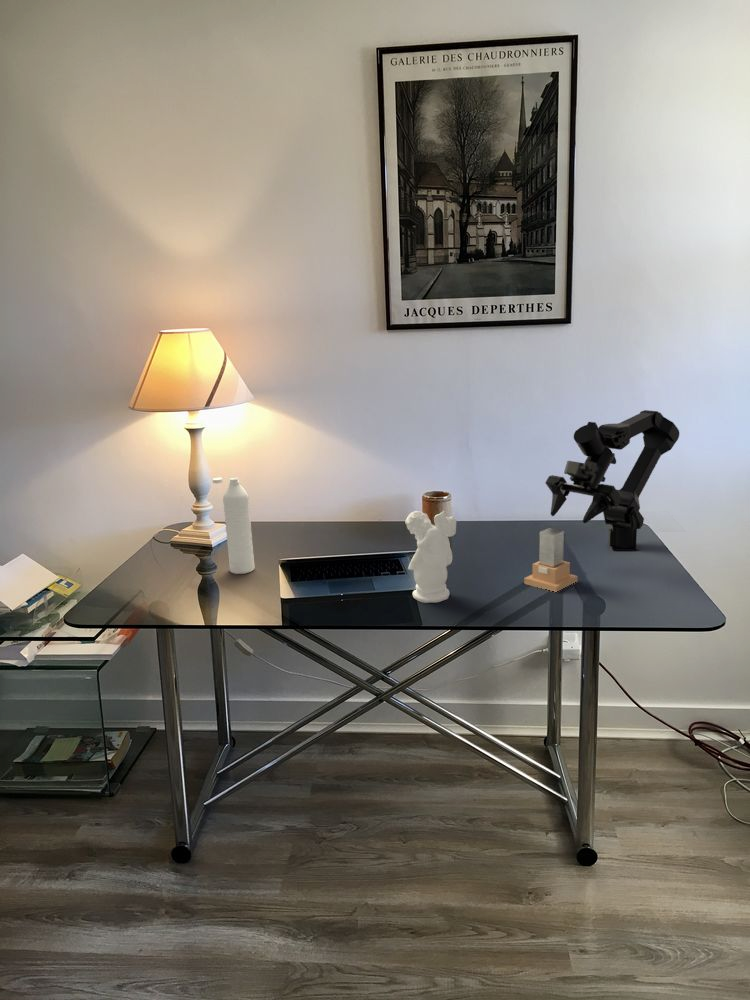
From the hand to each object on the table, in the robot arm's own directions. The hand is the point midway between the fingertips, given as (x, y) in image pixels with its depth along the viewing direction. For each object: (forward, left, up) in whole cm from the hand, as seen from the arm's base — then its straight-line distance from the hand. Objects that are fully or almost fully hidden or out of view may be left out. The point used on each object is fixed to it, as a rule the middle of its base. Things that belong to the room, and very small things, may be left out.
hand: (567, 518), depth 193 cm
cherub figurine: (+32, +14, -14) cm, 37 cm away
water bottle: (+85, -3, -14) cm, 86 cm away
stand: (+5, +7, -14) cm, 16 cm away
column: (+5, +7, -12) cm, 15 cm away
